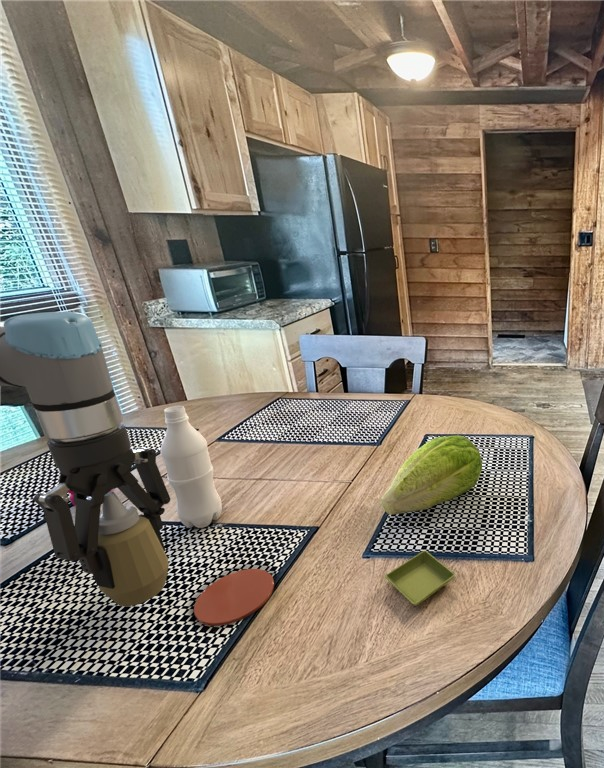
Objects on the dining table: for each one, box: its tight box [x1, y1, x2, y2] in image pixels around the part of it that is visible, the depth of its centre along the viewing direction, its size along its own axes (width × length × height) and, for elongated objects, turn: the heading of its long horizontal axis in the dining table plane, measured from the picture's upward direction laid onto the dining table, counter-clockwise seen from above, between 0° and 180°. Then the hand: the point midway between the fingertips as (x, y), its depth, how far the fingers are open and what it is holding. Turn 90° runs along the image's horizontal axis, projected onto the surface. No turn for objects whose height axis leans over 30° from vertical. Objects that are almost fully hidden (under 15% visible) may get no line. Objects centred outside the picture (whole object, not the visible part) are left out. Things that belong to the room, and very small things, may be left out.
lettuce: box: [380, 434, 483, 516], centre depth 93 cm, size 14×24×15 cm
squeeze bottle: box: [98, 490, 170, 608], centre depth 62 cm, size 8×8×18 cm
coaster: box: [193, 568, 275, 627], centre depth 68 cm, size 11×11×1 cm
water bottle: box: [160, 405, 223, 529], centre depth 81 cm, size 7×7×25 cm
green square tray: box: [384, 550, 456, 607], centre depth 71 cm, size 9×9×2 cm
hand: (133, 566), depth 63 cm, fingers closed on squeeze bottle, 6 cm apart
